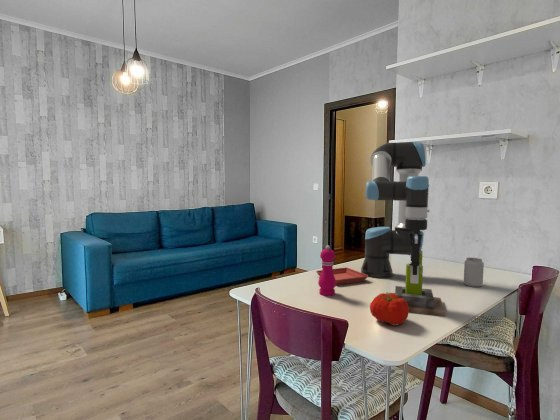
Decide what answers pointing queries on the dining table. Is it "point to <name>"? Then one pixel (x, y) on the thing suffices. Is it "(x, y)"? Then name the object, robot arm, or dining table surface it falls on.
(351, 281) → the plant saucer
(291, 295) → the dining table surface
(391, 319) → the tomato
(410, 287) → the vape
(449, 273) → the dining table surface
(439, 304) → the charging dock
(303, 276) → the dining table surface
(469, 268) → the can
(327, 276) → the pepper mill
